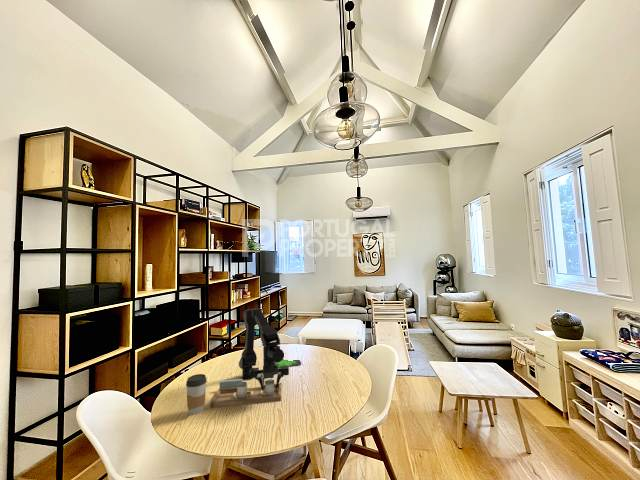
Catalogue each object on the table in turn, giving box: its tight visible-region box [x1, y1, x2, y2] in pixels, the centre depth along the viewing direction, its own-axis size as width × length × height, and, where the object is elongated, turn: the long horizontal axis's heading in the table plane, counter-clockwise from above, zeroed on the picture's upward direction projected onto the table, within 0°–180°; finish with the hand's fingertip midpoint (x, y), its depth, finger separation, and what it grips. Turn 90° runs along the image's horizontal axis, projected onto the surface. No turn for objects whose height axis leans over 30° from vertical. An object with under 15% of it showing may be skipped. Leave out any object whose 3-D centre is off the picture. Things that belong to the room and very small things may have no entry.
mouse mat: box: [275, 359, 302, 368], centre depth 176 cm, size 27×22×1 cm
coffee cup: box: [185, 373, 207, 416], centre depth 115 cm, size 8×8×15 cm
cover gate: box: [219, 378, 243, 389], centre depth 133 cm, size 2×11×4 cm, turn 97°
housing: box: [210, 378, 283, 408], centre depth 126 cm, size 16×31×6 cm, turn 97°
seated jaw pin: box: [237, 381, 248, 399], centre depth 124 cm, size 4×4×7 cm
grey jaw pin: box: [264, 378, 275, 397], centre depth 126 cm, size 4×4×7 cm
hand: (269, 389), depth 126 cm, fingers open, 6 cm apart
